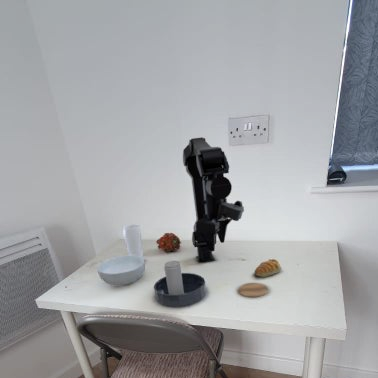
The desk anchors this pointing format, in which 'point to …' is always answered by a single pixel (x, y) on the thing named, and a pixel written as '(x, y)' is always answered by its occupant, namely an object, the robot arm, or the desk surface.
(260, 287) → the coaster
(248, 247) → the desk surface
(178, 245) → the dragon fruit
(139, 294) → the desk surface
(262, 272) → the pastry
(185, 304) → the pan
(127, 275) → the cereal bowl
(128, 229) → the drinking glass
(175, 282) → the beverage can
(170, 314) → the desk surface
